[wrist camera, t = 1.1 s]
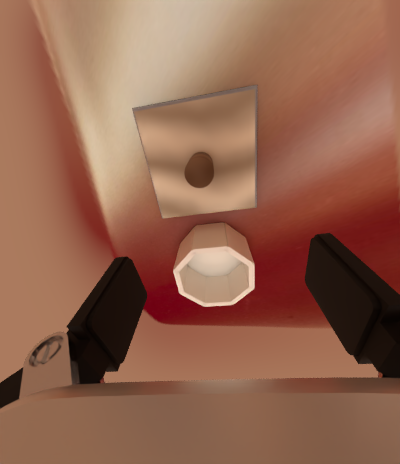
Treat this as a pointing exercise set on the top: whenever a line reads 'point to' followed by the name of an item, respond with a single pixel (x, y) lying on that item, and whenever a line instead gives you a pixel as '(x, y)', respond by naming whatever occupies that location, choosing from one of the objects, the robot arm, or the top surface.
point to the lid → (201, 153)
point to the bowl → (214, 265)
